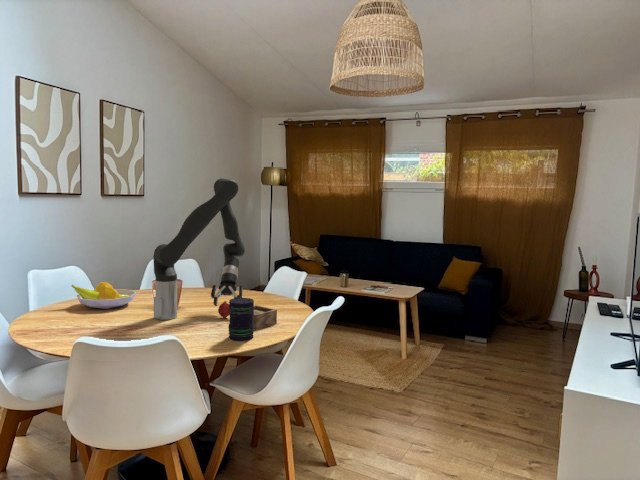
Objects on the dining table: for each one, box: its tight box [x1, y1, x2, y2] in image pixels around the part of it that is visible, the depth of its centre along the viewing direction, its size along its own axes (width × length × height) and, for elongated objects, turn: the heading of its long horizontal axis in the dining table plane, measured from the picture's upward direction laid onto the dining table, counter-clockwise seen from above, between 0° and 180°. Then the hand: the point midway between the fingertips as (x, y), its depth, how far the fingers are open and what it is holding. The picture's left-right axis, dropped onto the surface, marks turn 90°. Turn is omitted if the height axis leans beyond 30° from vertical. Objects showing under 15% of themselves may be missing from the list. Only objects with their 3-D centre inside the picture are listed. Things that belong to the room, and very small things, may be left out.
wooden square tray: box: [253, 304, 278, 331], centre depth 202 cm, size 13×13×6 cm
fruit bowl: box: [71, 281, 137, 310], centre depth 228 cm, size 28×27×11 cm
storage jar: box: [228, 297, 255, 342], centre depth 182 cm, size 10×10×15 cm
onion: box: [217, 300, 230, 319], centre depth 210 cm, size 6×6×8 cm
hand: (224, 305), depth 210 cm, fingers open, 8 cm apart
